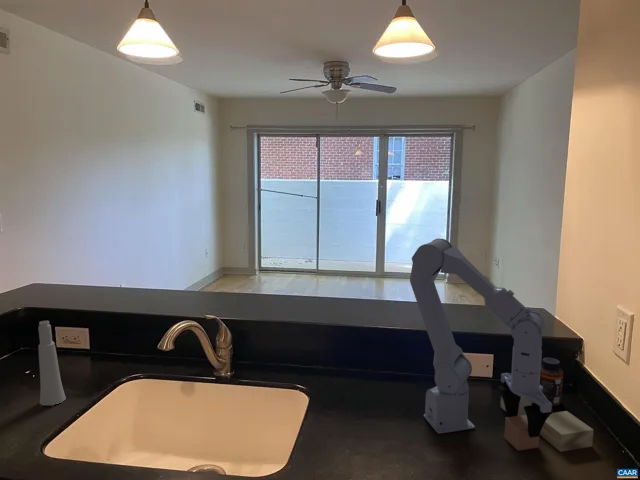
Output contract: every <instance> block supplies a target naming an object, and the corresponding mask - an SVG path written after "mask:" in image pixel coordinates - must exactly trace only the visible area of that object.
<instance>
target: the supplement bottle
mask: <svg viewBox="0 0 640 480" xmlns="http://www.w3.org/2000/svg"><path fill="white" fill-rule="evenodd" d="M563 383H564V371H563V369H562V368H561V362H560V360H559V359H556V358H553V357H544V358H542V361H541V372H540V385H541V386H543V390H541V391H542V392H543V394H544V395H545V397H546V398H547V399H548V401H550V402H551V403H552V407H558V406H559V405H561V404H562V396H563V385H564V384H563Z"/></svg>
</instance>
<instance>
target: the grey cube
mask: <svg viewBox="0 0 640 480" xmlns="http://www.w3.org/2000/svg"><path fill="white" fill-rule="evenodd" d="M532 404H533V403H532V402H531V401H529V400H527V399H525V398H523V397H521V399H520V403H519V410H518V415H517V416H520V415H526V412H525V410H524V406H530V405H532ZM500 408H501V409H502V410H503V411H504V412H506V409H505V405H504V401H503V398H502V396H501V395H500ZM526 416H527V415H526Z"/></svg>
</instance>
